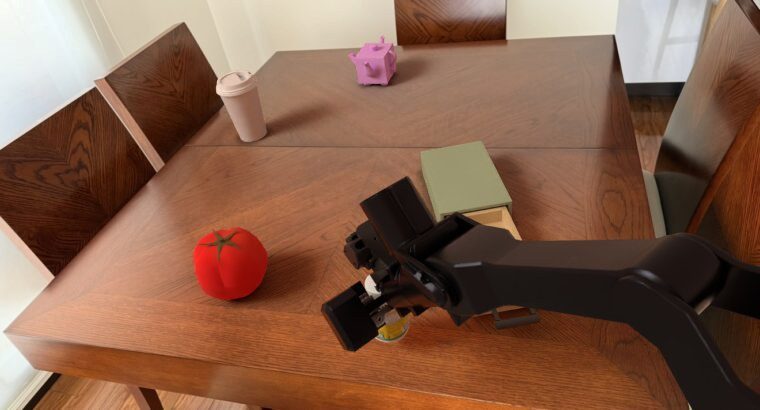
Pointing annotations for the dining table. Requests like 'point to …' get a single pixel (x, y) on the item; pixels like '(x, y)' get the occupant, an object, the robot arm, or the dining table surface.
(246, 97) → the coffee cup
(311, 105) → the dining table surface
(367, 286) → the supplement bottle
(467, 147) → the cabinet
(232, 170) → the dining table surface
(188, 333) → the dining table surface
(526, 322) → the drawer
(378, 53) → the teapot
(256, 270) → the tomato
